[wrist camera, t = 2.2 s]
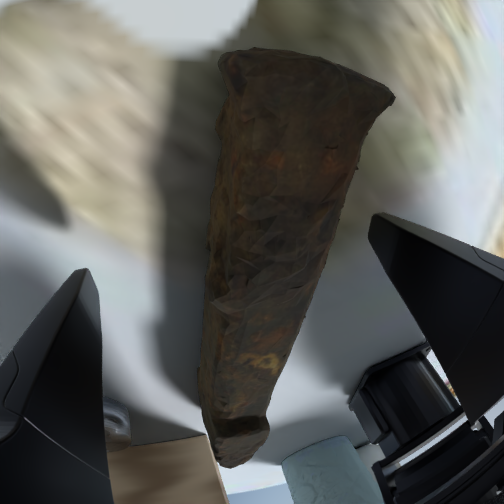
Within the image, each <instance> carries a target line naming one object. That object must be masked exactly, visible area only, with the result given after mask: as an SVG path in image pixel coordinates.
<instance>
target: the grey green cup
mask: <svg viewBox="0 0 504 504" xmlns="http://www.w3.org/2000/svg"><path fill="white" fill-rule="evenodd" d="M281 464H282V470H283V473H284V476H285V478H286V481H287V484H288V486H289V489H290V492H291V496H292V499H293V501H294V504H384V502H383V498H382V494H381V491H380V488H379V486H378V484H377V483H376V482H375V481H374V480H373V477H372V475H371V473H370V472H369V471H368V470H367V467H366V466H365V464H364V463H363V462H362V461H361V459H360V458H359V454H358V453H357V451H356V450H355V448H354V447H353V445H352V443H351V442H350V440H349V439H348V438H347V437H346V436H337V437H333V438H330V439H326V440H323V441H321V442H318V443H315V444H313V445H311V446H309V447H306V448H304V449H302V450H300V451H298V452H296V453H294V454H292V455H291V456H289V457H287V458H286V459H285V460H284V461H283V462H282V463H281Z"/></svg>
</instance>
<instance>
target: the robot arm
mask: <svg viewBox="0 0 504 504" xmlns="http://www.w3.org/2000/svg"><path fill="white" fill-rule="evenodd" d="M368 240H369V242H370V244H371V246H372V248H373V250H374V251H375V253H376V255H377V257H378V259H379V261H380V263H381V265H382V266H383V268H384V270H385V272H386V274H387V276H388V277H389V279H390V281H391V282H392V284H393V285H394V287H395V288H396V290H397V292H398V293H399V295H400V296H401V298H402V299H403V301H404V303H405V304H406V306H407V308H408V309H409V311H410V312H411V314H412V316H413V317H414V319H415V321H416V322H417V324H418V326H419V327H420V329H421V331H422V333H423V334H424V336H425V338H426V340H427V341H428V342H427V343H425V344H423V345H421V346H419V347H417V348H414V349H412V350H410V351H408V352H406V353H404V354H402V355H399V356H397V357H395V358H393V359H390V360H388V361H386V362H384V363H381V364H379V365H377V366H374V367H372V368H370V369H369V370H368V371H366V373H365V375H364V377H363V379H362V381H361V383H360V385H359V387H358V389H357V391H356V393H355V395H354V397H353V399H352V401H351V403H350V405H349V409H350V411H354V412H355V414H356V416H357V418H358V420H359V422H360V423H361V425H362V427H363V429H364V431H365V433H366V435H367V436H368V438H369V440H370V442H371V444H374V445H376V444H379V446H380V448H381V450H382V452H383V454H384V456H385V457H386V458H384V459H382V460H379V461H377V462H375V463H373V464H372V465H373V466H372V467H371V469H372V471H373V473H374V475H375V478H376V480H377V483H378V485H379V488H380V491H381V494H382V498H383V502H384V504H504V411H503V412H502V413H501V414H500V415H499V416H497V418H495V421H494V429H493V427H492V426H491V425H490V423H489V422H488V420H487V419H486V418H485V416H484V414H486V413H487V412H488V411H489V410H490V409H491V408H493V407H494V406H495V405H496V404H497V403H498V402H499V401H501V399H503V398H504V259H503V258H501V257H498V256H496V255H493V254H491V253H488V252H486V251H483V250H481V249H479V248H476V247H474V246H471V245H469V244H467V243H464V242H462V241H459V240H457V239H454V238H452V237H449V236H447V235H444V234H442V233H439V232H436V231H434V230H431V229H428V228H426V227H423V226H421V225H418V224H415V223H412V222H410V221H407V220H404V219H401V218H399V217H396V216H393V215H390V214H387V213H383V212H382V213H376V214H374V215H373V216H372V218H371V222H370V227H369V232H368ZM431 349H432V350H433V352H434V354H435V356H436V357H437V359H438V361H439V363H440V365H441V366H442V368H443V370H444V372H445V374H446V376H447V378H448V380H449V382H450V384H451V386H452V388H453V390H454V392H455V394H456V396H457V398H458V399H459V402H460V404H461V405H459V403H458V402H457V400H456V399H455V397H454V396H453V394H452V393H451V391H450V390H449V389H448V387H447V386H446V384H445V383H444V381H443V380H442V379H441V377H440V376H439V374H438V373H437V371H436V370H435V369H434V367H433V366H432V365H431V363H430V362H429V360H428V359H427V358H426V357H427V355H428V354H429V352H430V350H431ZM465 415H466V416H467V418H468V420H467V421H466V422H464V423H463V424H462V425H461V426H459V427H458V428H457V429H455V430H454V431H453V432H451V433H450V434H449V435H447V436H446V437H445V438H443V439H442V440H441V441H440V442H438V443H436V444H435V445H433V446H432V447H431V448H429V449H428V450H426V451H425V452H423V453H422V454H420V455H419V456H417V457H415V458H414V459H412V460H411V461H409V462H408V463H406V464H404V465H403V466H401V467H399V468H398V469H397V467H396V466H395V464H397V463H398V462H400V461H401V460H403V459H405V458H406V457H408V456H409V455H411V454H413V453H414V452H416V451H417V450H419V449H420V448H422V447H423V446H425V445H426V444H427V443H429V442H431V441H432V440H433V439H435V438H436V437H438V436H439V435H440V434H442V433H443V432H444V431H446V430H447V429H449V428H450V427H451V426H452V425H454V424H455V423H456V422H458V420H460V419H461V418H463V417H464V416H465ZM474 428H477V429H478V430H474V431H473V429H474ZM109 478H110V475H109V467H108V459H107V450H106V439H105V427H104V411H103V387H102V332H101V319H100V304H99V293H98V289H97V287H96V285H95V282H94V280H93V277H92V275H91V273H90V271H89V269H87V268H83V269H78V270H75V271H74V272H73V273H72V274H71V275H70V277H69V278H68V279H67V280H66V281H65V282H64V284H63V285H62V286H61V287H60V288H59V289H58V291H57V292H56V293H55V294H54V296H53V297H52V298H51V299H50V300H49V302H48V303H47V304H46V305H45V307H44V308H43V309H42V310H41V312H40V313H39V314H38V316H37V317H36V318H35V319H34V321H33V322H32V323H31V325H30V326H29V327H28V329H27V330H26V331H25V333H24V334H23V335H22V337H21V338H20V339H19V341H18V342H17V343H16V345H15V346H14V348H13V351H11V352H10V353H9V355H8V356H7V358H6V359H5V360H4V362H3V363H2V365H1V366H0V504H114V500H113V494H112V488H111V481H110V479H109Z"/></svg>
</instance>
